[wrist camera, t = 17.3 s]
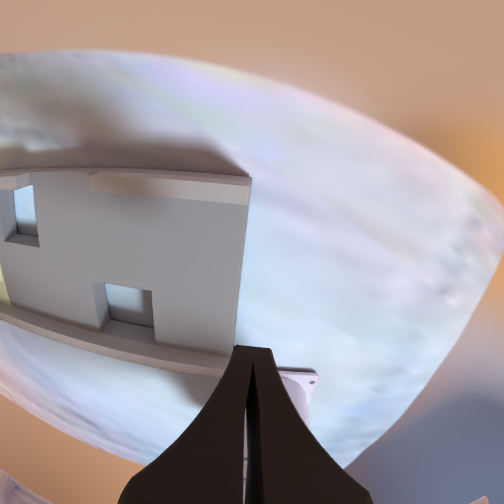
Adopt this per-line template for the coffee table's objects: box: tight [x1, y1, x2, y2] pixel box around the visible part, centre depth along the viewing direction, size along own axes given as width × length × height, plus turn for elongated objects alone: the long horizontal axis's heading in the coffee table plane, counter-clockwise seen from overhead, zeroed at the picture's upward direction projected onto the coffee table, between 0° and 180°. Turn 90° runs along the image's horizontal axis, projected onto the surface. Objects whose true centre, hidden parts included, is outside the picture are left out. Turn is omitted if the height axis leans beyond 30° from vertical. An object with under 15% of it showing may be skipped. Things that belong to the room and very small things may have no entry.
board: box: [0, 167, 252, 378], centre depth 19 cm, size 14×28×4 cm, turn 83°
